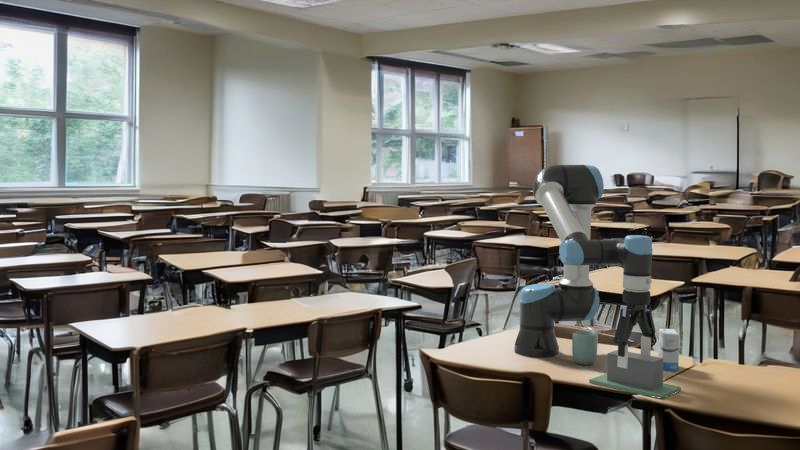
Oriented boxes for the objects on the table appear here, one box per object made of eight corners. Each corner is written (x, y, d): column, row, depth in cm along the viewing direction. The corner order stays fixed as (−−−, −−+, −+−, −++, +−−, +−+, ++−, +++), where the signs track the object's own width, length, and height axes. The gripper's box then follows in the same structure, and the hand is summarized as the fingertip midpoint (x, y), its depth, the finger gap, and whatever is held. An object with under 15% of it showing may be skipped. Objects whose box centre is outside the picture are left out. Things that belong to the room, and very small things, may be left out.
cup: (601, 363, 230) (601, 333, 230) (589, 368, 225) (590, 336, 224) (579, 359, 236) (580, 329, 235) (567, 363, 230) (568, 333, 229)
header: (589, 382, 207) (589, 364, 207) (610, 375, 216) (610, 357, 216) (661, 399, 192) (662, 379, 192) (681, 390, 200) (681, 371, 200)
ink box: (678, 371, 221) (679, 334, 220) (662, 370, 222) (663, 333, 221) (673, 364, 229) (674, 328, 229) (657, 364, 230) (658, 328, 230)
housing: (607, 380, 207) (607, 353, 206) (617, 376, 211) (617, 349, 211) (652, 390, 197) (653, 361, 196) (662, 386, 201) (663, 358, 201)
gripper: (627, 296, 191) (624, 374, 193) (669, 286, 208) (666, 357, 210) (602, 293, 196) (599, 368, 198) (644, 283, 214) (642, 353, 215)
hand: (634, 363), depth 204 cm, fingers open, 13 cm apart
